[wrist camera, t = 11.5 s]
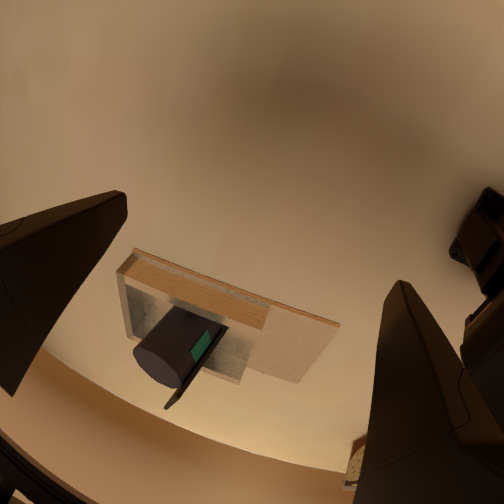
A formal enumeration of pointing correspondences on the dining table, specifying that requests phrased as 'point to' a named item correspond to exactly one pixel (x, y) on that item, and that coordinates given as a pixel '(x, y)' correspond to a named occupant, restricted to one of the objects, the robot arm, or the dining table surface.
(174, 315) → the speaker
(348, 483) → the food container
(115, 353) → the dining table surface
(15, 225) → the robot arm
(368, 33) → the dining table surface
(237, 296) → the beige shallow tray
